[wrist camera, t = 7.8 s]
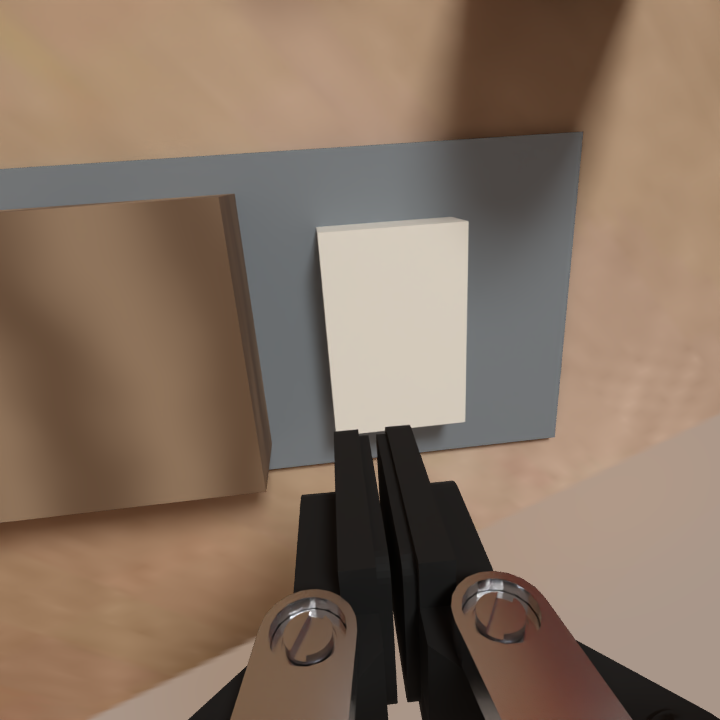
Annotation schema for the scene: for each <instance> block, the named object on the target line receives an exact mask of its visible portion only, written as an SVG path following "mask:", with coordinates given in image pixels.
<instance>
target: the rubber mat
mask: <svg viewBox="0 0 720 720" xmlns="http://www.w3.org/2000/svg"><path fill="white" fill-rule="evenodd" d="M582 139H583V132H570V133H555V134H539V135H523V136H508V137H492V138H477V139H461V140H446V141H430V142H415V143H399V144H384V145H368V146H353V147H337V148H322V149H306V150H291V151H275V152H259V153H244V154H228V155H213V156H197V157H182V158H166V159H151V160H135V161H120V162H104V163H89V164H73V165H58V166H42V167H27V168H11V169H0V210H8V209H23V208H37V207H51V206H65V205H79V204H93V203H108V202H122V201H136V200H150V199H164V198H179V197H193V196H207V195H221V194H235V199H236V206H237V213H238V219H239V226H240V233H241V239H242V246H243V253H244V259H245V266H246V273H247V279H248V286H249V293H250V300H251V306H252V313H253V320H254V326H255V333H256V340H257V346H258V353H259V360H260V366H261V373H262V380H263V386H264V393H265V400H266V406H267V413H268V420H269V426H270V433H271V440H272V448H271V456H270V464H269V470H270V469H279V468H287V467H296V466H305V465H314V464H322V463H331V462H335V461H334V431H336V429H335V420H334V412H333V401H332V390H331V380H330V369H329V359H328V348H327V337H326V327H325V316H324V305H323V295H322V284H321V273H320V263H319V252H318V241H317V231H316V227H323V226H336V225H349V224H363V223H376V222H389V221H402V220H415V219H428V218H441V217H455V218H458V219H462V220H466V221H469V228H468V287H467V346H466V405H465V422H461V423H451V424H442V425H433V426H424V427H415V428H412V431H413V434H414V437H415V440H416V443H417V446H418V449H419V452H428V451H437V450H445V449H454V448H463V447H472V446H481V445H489V444H498V443H507V442H516V441H525V440H533V439H542V438H551V437H555V427H556V416H557V406H558V395H559V384H560V374H561V363H562V352H563V342H564V331H565V320H566V310H567V299H568V288H569V278H570V267H571V256H572V246H573V235H574V224H575V214H576V203H577V192H578V182H579V171H580V160H581V150H582ZM376 434H385V431H378V432H369V433H360V434H359V436H362V435H369V441H370V447H371V453H372V458H375V457H377V446H376Z"/></svg>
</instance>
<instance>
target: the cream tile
mask: <svg viewBox="0 0 720 720" xmlns="http://www.w3.org/2000/svg"><path fill="white" fill-rule="evenodd" d="M468 228H469V221H466V220H462V219H458V218H455V217H441V218H428V219H415V220H402V221H389V222H376V223H363V224H349V225H336V226H323V227H316V231H317V241H318V252H319V263H320V273H321V284H322V295H323V305H324V316H325V327H326V337H327V348H328V359H329V369H330V380H331V390H332V401H333V412H334V420H335V429H336V431H345V430H356V429H358V432H359V434H360V433H369V432H378V431H385V427H389V426H400V425H410V426H411V428H415V427H424V426H433V425H442V424H451V423H461V422H465V405H466V346H467V287H468Z"/></svg>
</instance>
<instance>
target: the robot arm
mask: <svg viewBox="0 0 720 720" xmlns="http://www.w3.org/2000/svg"><path fill="white" fill-rule="evenodd" d="M376 446H377V462H378V479H379V495H378V489H377V483H376V477H375V471H374V465H373V459H372V453H371V447H370V441H369V435H362V436H359V432H358V429H356V430H345V431H334V461H335V492H329V493H319V494H308V495H302V496H301V503H300V516H299V529H298V542H297V555H296V568H295V581H294V594H291V595H288V596H287V597H285V598H284V599H282V600H281V601H279V602H278V603H276V604H275V605H274V606H273V607H272V608H271V609H270V611H269V612H268V613H267V614H266V615H265V617H264V619H263V621H262V623H261V625H260V627H259V630H258V633H257V636H256V640H255V643H254V646H253V649H252V653H251V656H250V659H249V662H248V665H247V666H246V667H245V668H244V669H243V670H242V671H241V672H240V673H239V674H238V675H236V676H235V677H234V678H233V679H232V680H231V681H230V682H229V683H228V684H227V685H226V686H224V687H223V688H222V689H221V690H220V691H219V692H218V693H217V694H216V695H215V696H214V697H212V699H210V700H209V701H208V702H207V703H206V704H205V705H204V706H203V707H201V708H200V709H199V710H198V711H197V712H196V713H195V714H194V715H193V716H192V717H191V718H189V719H188V720H388V712H387V705H389V704H397V703H398V701H397V683H396V664H395V644H394V626H393V614H394V620H395V627H396V634H397V640H398V646H399V653H400V659H401V665H402V672H403V679H404V685H405V691H406V698H407V702H415V701H419V705H420V711H421V716H422V720H720V719H719V718H717V717H716V716H714V715H713V714H711V713H709V712H707V711H706V710H704V709H702V708H700V707H698V706H697V705H695V704H693V703H691V702H689V701H687V700H686V699H684V698H682V697H680V696H678V695H676V694H674V693H673V692H671V691H669V690H667V689H665V688H663V687H662V686H660V685H658V684H656V683H654V682H652V681H650V680H648V679H647V678H645V677H643V676H641V675H639V674H638V673H636V672H634V671H632V670H630V669H628V668H626V667H625V666H623V665H621V664H619V663H617V662H615V661H614V660H612V659H610V658H608V657H606V656H604V655H602V654H601V653H599V652H597V651H595V650H593V649H591V648H590V647H588V646H586V645H584V644H582V643H580V642H578V641H577V640H575V639H574V637H573V636H572V635H571V633H570V632H569V630H568V629H567V628H566V626H565V625H564V623H563V622H562V621H561V619H560V618H559V616H558V615H557V614H556V612H555V611H554V609H553V608H552V607H551V605H550V604H549V602H548V601H547V600H546V598H545V597H544V596H543V595H542V594H541V593H540V592H539V591H538V590H537V589H536V587H534V586H533V585H531V584H530V583H528V582H527V581H525V580H524V579H522V578H520V577H516V576H514V575H511V574H509V573H504V572H497V571H493V569H492V566H491V564H490V562H489V559H488V557H487V555H486V552H485V550H484V547H483V545H482V543H481V541H480V538H479V536H478V533H477V531H476V529H475V526H474V524H473V522H472V519H471V517H470V515H469V512H468V510H467V508H466V505H465V503H464V501H463V498H462V496H461V493H460V491H459V489H458V486H457V485H456V483H455V482H454V481H445V482H435V483H430V481H429V478H428V475H427V472H426V469H425V467H424V464H423V461H422V458H421V455H420V452H419V449H418V446H417V443H416V440H415V437H414V434H413V431H412V428H411V426H410V425H400V426H389V427H385V434H376ZM379 496H380V501H379Z"/></svg>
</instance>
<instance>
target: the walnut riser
mask: <svg viewBox="0 0 720 720" xmlns="http://www.w3.org/2000/svg"><path fill="white" fill-rule="evenodd" d="M271 448H272V440H271V433H270V426H269V420H268V413H267V406H266V400H265V393H264V386H263V380H262V373H261V366H260V360H259V353H258V346H257V340H256V333H255V326H254V320H253V313H252V306H251V300H250V293H249V286H248V279H247V273H246V266H245V259H244V253H243V246H242V239H241V233H240V226H239V219H238V213H237V206H236V199H235V194H221V195H207V196H193V197H179V198H164V199H150V200H136V201H122V202H108V203H93V204H79V205H65V206H51V207H37V208H23V209H8V210H0V523H2V522H11V521H19V520H28V519H37V518H45V517H54V516H62V515H71V514H79V513H88V512H96V511H105V510H113V509H122V508H130V507H139V506H148V505H156V504H165V503H173V502H182V501H190V500H199V499H207V498H216V497H224V496H233V495H241V494H250V493H258V492H266V488H267V480H268V472H269V464H270V456H271Z"/></svg>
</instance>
